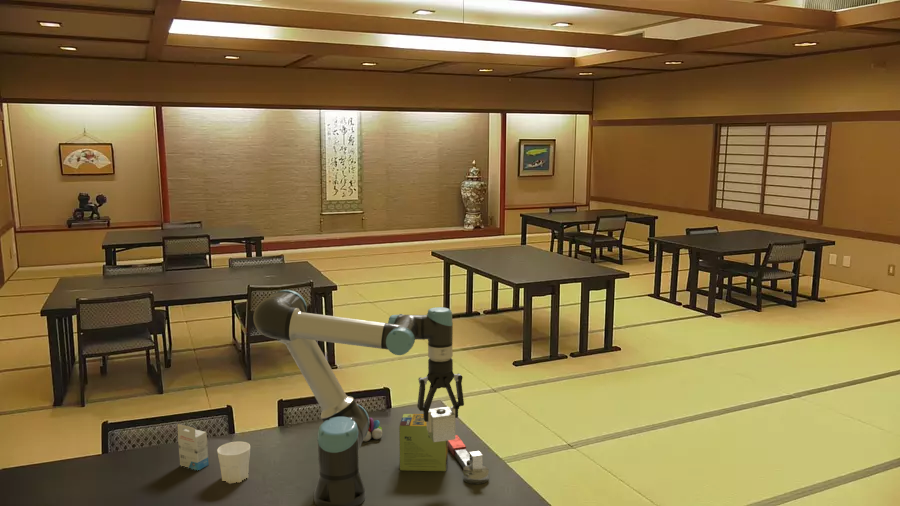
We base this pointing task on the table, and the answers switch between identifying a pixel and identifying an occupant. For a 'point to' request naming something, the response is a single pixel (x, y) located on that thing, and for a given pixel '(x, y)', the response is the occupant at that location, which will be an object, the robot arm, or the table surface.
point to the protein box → (420, 446)
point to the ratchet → (469, 462)
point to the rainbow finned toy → (373, 430)
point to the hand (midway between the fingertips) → (440, 429)
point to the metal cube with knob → (442, 424)
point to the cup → (234, 461)
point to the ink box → (192, 447)
